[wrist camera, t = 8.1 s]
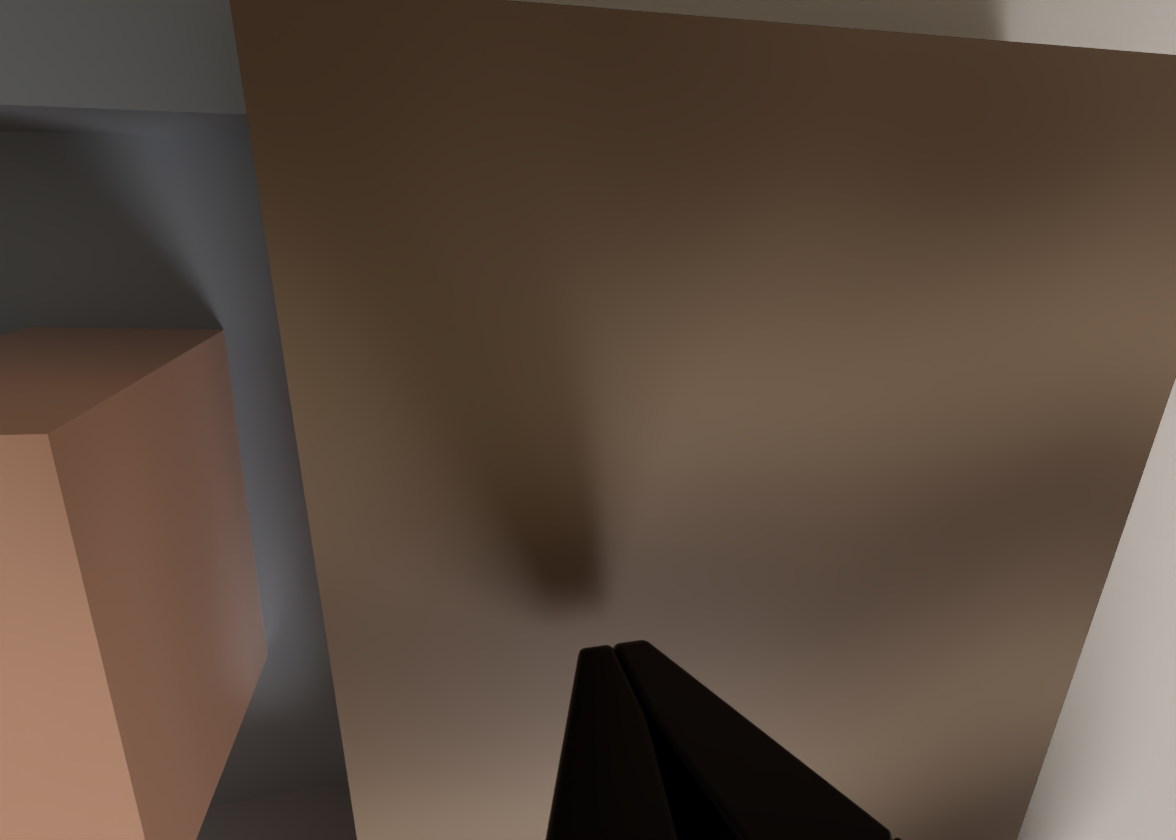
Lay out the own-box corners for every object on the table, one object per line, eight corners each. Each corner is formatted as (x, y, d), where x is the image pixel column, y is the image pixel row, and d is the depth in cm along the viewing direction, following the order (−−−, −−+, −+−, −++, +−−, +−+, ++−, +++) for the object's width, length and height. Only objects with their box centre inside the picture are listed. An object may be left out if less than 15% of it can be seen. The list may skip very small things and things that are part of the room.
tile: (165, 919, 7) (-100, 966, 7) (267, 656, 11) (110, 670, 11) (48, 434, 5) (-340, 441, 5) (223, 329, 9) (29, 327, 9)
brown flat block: (880, 706, 16) (1009, 857, 12) (400, 790, 14) (382, 1009, 10) (1012, 107, 11) (1284, 63, 8) (316, 68, 9) (226, -24, 5)
